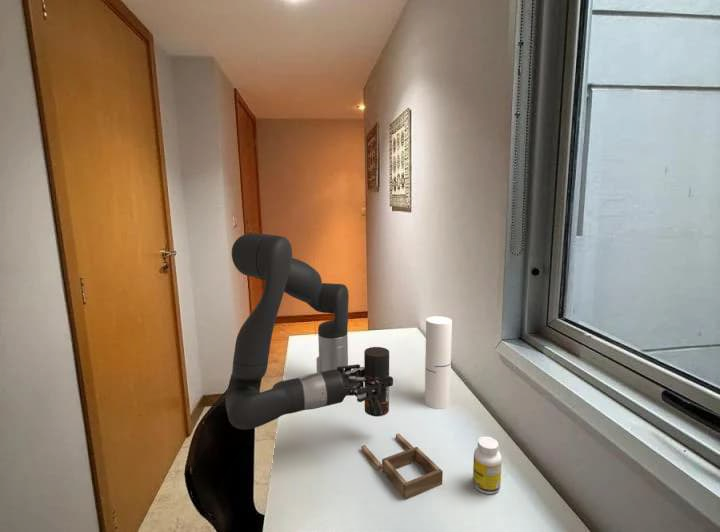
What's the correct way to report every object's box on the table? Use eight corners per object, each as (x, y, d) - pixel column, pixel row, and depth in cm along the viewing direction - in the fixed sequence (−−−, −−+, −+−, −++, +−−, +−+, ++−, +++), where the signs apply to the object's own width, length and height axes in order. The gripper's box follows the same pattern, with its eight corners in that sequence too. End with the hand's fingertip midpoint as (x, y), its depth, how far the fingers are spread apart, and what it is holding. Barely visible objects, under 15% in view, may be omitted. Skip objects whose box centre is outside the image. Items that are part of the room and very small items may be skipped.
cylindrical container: (449, 409, 107) (452, 324, 103) (424, 407, 109) (425, 323, 105) (449, 397, 114) (451, 316, 110) (425, 395, 116) (426, 315, 112)
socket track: (361, 450, 90) (361, 438, 90) (399, 437, 95) (399, 426, 94) (402, 501, 75) (402, 487, 74) (445, 482, 80) (445, 469, 79)
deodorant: (387, 417, 90) (388, 357, 87) (362, 415, 91) (362, 355, 88) (389, 404, 96) (390, 347, 93) (366, 402, 97) (366, 346, 94)
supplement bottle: (468, 477, 81) (470, 434, 80) (493, 475, 82) (495, 433, 80) (478, 496, 76) (480, 451, 74) (505, 494, 76) (507, 449, 75)
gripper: (330, 388, 79) (401, 372, 86) (310, 361, 92) (372, 349, 99) (331, 421, 80) (400, 403, 87) (310, 390, 93) (372, 377, 100)
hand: (385, 375), depth 93 cm, fingers closed on deodorant, 6 cm apart
